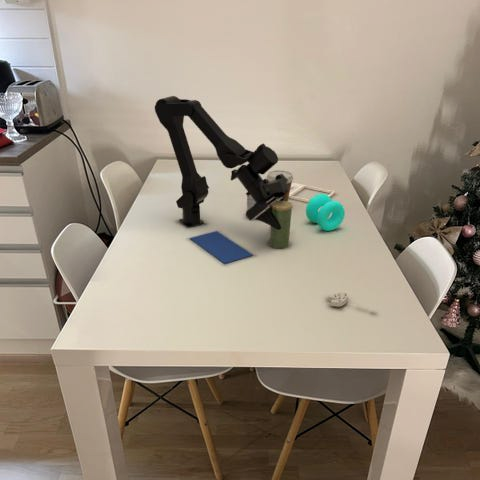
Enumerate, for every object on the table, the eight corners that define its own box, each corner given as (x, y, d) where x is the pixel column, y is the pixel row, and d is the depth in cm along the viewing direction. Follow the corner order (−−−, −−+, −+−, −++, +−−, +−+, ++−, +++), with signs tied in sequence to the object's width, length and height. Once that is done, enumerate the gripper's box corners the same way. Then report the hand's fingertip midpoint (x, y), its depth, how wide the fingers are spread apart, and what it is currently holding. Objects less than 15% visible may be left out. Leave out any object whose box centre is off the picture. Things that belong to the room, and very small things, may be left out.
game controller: (328, 295, 128) (330, 287, 126) (373, 302, 126) (375, 293, 124) (326, 306, 123) (328, 298, 122) (373, 313, 121) (375, 305, 120)
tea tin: (265, 243, 153) (267, 203, 146) (280, 238, 156) (283, 199, 149) (277, 250, 149) (280, 209, 142) (292, 245, 152) (296, 205, 145)
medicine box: (259, 220, 168) (260, 195, 163) (246, 218, 169) (247, 194, 164) (262, 211, 174) (263, 187, 170) (250, 210, 175) (251, 186, 170)
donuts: (318, 234, 159) (322, 204, 154) (302, 222, 167) (305, 194, 161) (344, 229, 163) (348, 200, 157) (327, 218, 170) (331, 190, 165)
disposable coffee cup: (293, 204, 181) (296, 171, 174) (287, 213, 174) (290, 179, 167) (269, 200, 184) (270, 168, 177) (261, 209, 176) (263, 176, 169)
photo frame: (293, 182, 198) (335, 190, 190) (293, 184, 198) (334, 193, 191) (276, 192, 187) (320, 202, 180) (276, 195, 188) (319, 205, 181)
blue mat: (189, 239, 154) (189, 238, 154) (216, 232, 159) (216, 231, 159) (224, 264, 141) (224, 263, 141) (252, 255, 146) (252, 254, 145)
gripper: (257, 176, 134) (290, 222, 136) (285, 159, 148) (315, 201, 150) (231, 198, 142) (264, 241, 144) (260, 180, 155) (289, 220, 157)
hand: (284, 225), depth 148 cm, fingers closed on tea tin, 6 cm apart
